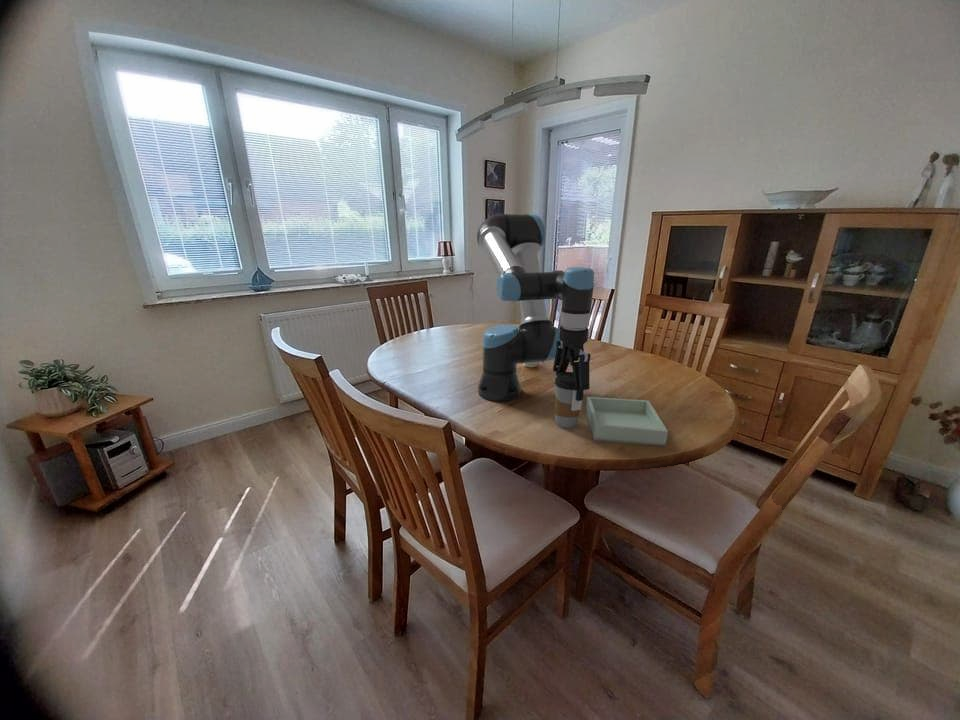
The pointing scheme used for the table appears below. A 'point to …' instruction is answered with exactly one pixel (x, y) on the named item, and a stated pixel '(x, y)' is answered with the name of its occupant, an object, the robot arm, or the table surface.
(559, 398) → the coffee cup
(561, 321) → the robot arm
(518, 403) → the table surface
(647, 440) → the tray
